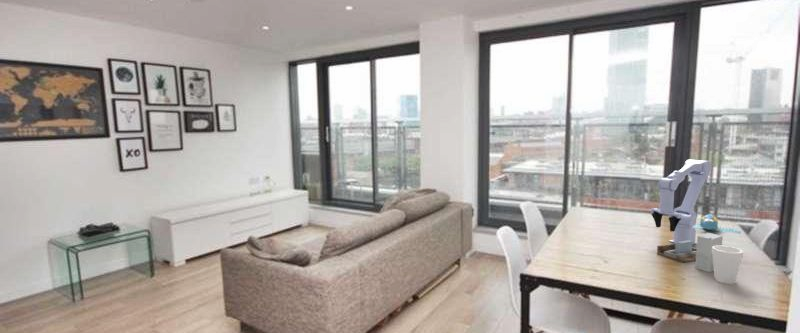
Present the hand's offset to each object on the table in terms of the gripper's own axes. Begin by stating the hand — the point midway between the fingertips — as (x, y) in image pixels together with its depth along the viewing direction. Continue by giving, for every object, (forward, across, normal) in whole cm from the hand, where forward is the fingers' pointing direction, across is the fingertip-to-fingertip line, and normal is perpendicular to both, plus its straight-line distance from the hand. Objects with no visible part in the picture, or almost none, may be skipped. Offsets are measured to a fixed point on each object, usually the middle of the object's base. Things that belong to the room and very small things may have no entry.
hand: (665, 229), depth 196 cm
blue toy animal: (+10, -14, +50) cm, 53 cm away
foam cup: (+10, +38, -14) cm, 42 cm away
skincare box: (+10, +27, -8) cm, 30 cm away
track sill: (+9, +12, -2) cm, 15 cm away
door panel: (+9, +12, -3) cm, 15 cm away
